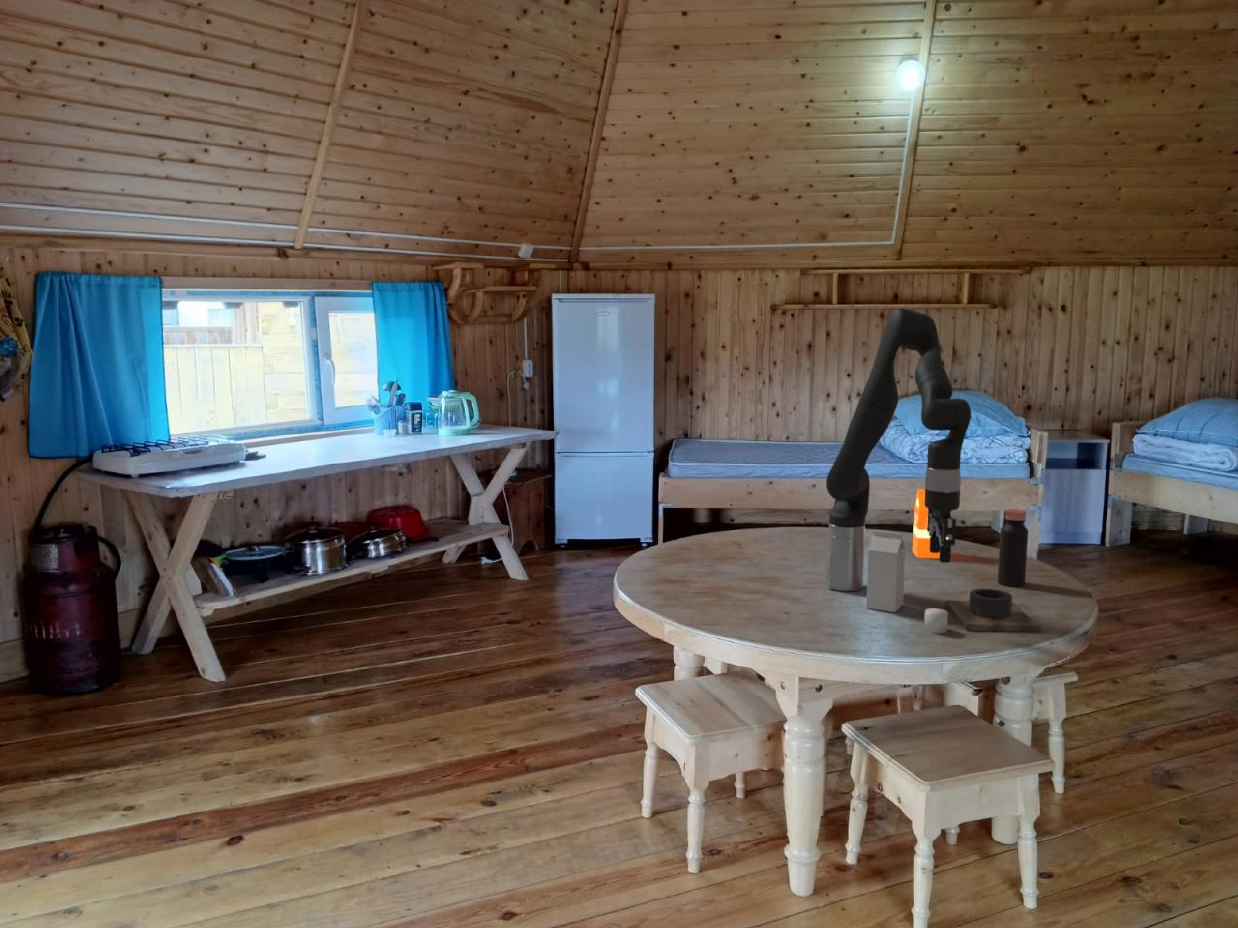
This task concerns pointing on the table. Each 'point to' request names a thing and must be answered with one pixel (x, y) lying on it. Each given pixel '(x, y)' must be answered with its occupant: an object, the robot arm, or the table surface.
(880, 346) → the robot arm
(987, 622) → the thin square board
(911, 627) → the table surface
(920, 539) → the orange juice
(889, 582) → the milk carton
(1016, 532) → the bottle
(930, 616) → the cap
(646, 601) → the table surface
